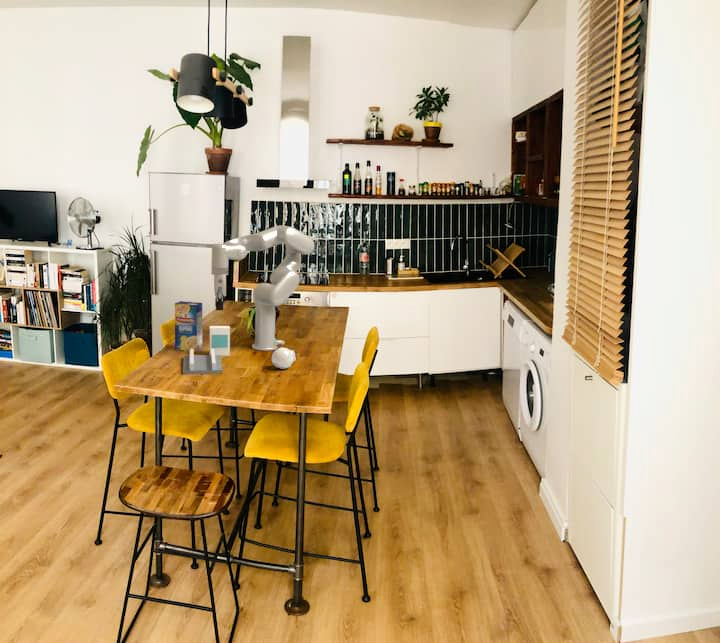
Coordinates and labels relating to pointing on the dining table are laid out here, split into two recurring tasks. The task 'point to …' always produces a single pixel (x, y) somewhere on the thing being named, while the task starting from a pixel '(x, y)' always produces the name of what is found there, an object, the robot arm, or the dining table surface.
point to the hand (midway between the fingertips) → (219, 308)
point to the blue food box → (188, 325)
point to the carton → (220, 340)
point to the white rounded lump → (283, 358)
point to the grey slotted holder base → (202, 363)
